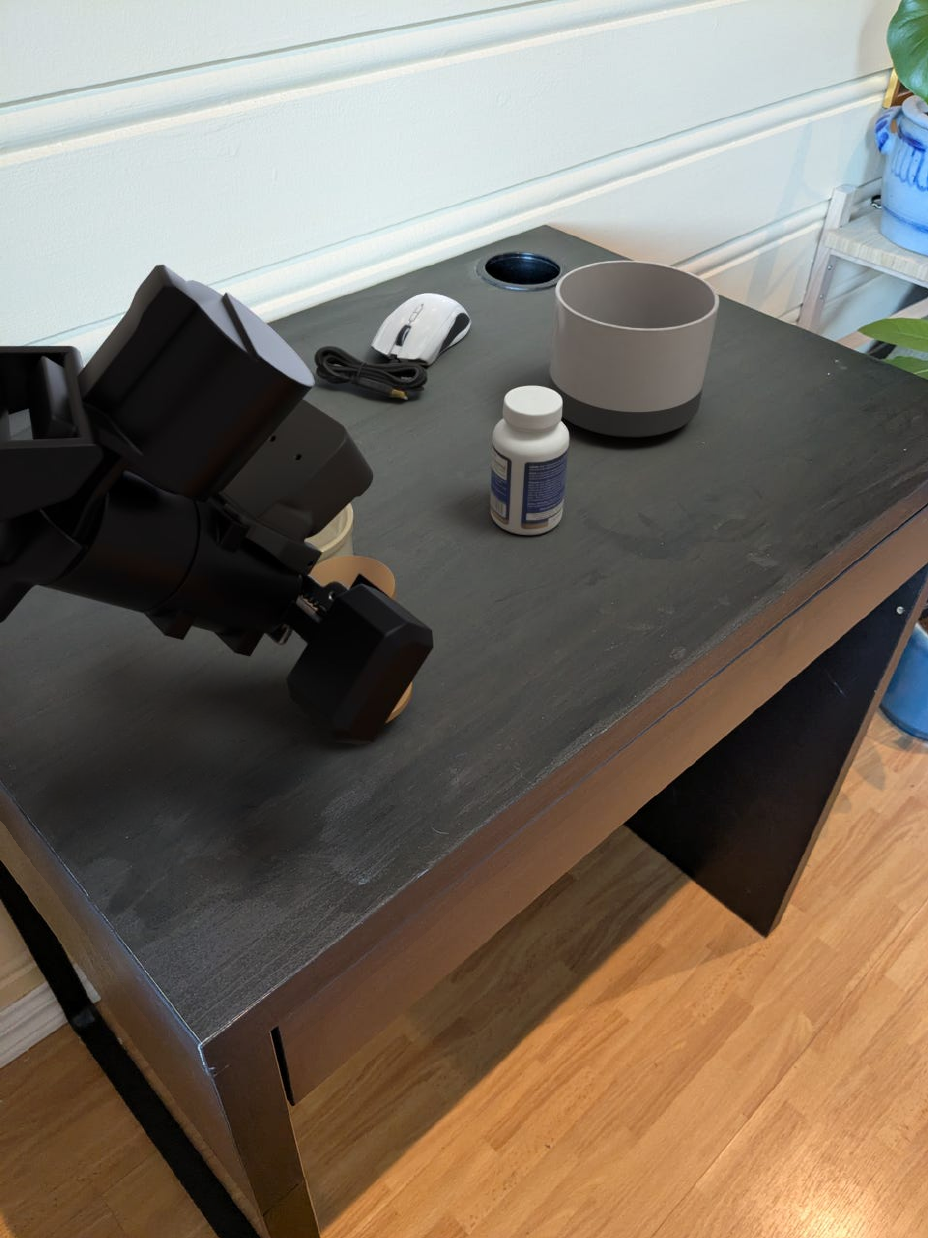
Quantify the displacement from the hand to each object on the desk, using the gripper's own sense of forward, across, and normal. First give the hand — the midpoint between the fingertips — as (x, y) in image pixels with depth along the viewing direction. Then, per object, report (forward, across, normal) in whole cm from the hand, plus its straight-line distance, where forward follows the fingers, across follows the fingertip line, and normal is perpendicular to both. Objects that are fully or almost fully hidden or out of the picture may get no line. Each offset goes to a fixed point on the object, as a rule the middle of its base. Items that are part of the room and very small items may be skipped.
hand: (372, 621), depth 53 cm
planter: (+30, +13, -21) cm, 39 cm away
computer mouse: (+25, +33, -16) cm, 44 cm away
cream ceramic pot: (+6, +13, +3) cm, 15 cm away
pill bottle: (+19, +7, -9) cm, 22 cm away
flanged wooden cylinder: (+2, 0, +4) cm, 5 cm away
